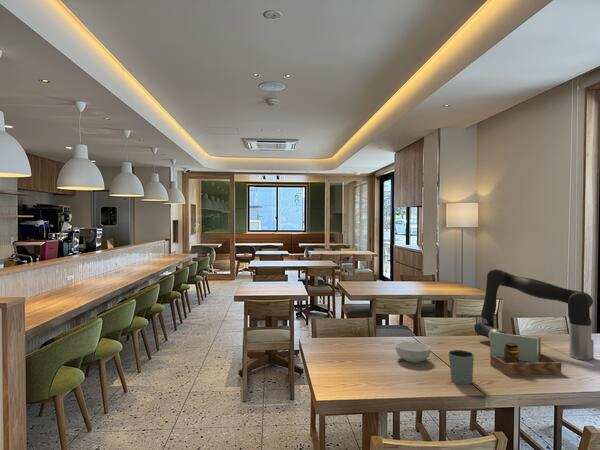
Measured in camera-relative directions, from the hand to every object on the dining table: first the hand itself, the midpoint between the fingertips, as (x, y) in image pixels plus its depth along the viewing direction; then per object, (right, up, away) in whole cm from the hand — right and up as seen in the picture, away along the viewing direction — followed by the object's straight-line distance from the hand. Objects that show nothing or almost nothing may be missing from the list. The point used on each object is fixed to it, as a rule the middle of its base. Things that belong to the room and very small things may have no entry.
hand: (516, 346), depth 202 cm
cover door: (-1, -6, -1) cm, 7 cm away
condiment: (-11, -7, -15) cm, 20 cm away
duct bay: (-4, -6, -14) cm, 16 cm away
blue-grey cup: (-39, -6, -29) cm, 49 cm away
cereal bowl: (-53, -7, -1) cm, 53 cm away
